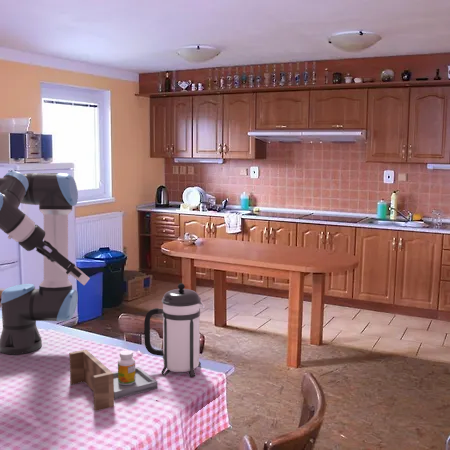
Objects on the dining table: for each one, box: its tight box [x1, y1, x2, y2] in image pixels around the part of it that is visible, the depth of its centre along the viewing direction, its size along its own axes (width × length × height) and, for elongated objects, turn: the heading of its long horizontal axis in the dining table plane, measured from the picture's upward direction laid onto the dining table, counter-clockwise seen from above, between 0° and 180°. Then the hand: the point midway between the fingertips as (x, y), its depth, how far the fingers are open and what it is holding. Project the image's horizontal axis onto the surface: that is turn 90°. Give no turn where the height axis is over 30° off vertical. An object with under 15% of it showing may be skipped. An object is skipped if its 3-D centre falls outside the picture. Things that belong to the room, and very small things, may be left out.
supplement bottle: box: [117, 349, 136, 385], centre depth 175 cm, size 5×5×10 cm
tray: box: [112, 366, 158, 400], centre depth 175 cm, size 14×14×2 cm
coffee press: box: [143, 282, 206, 378], centre depth 185 cm, size 17×16×30 cm
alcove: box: [69, 349, 115, 412], centre depth 168 cm, size 22×6×10 cm, turn 33°
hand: (79, 277), depth 172 cm, fingers open, 13 cm apart
